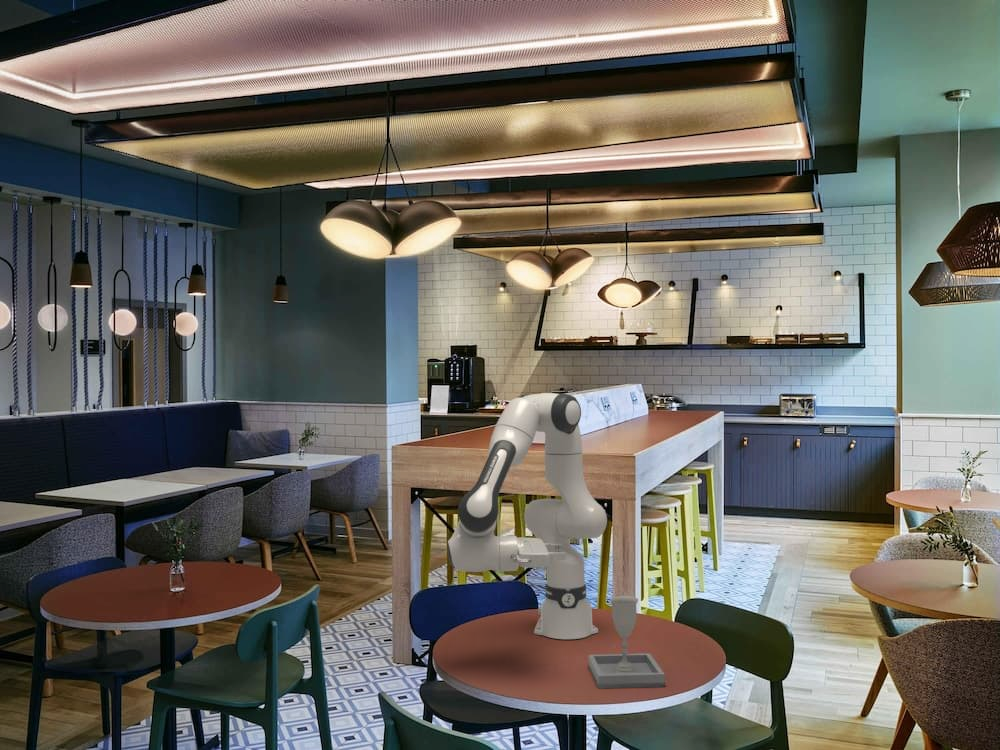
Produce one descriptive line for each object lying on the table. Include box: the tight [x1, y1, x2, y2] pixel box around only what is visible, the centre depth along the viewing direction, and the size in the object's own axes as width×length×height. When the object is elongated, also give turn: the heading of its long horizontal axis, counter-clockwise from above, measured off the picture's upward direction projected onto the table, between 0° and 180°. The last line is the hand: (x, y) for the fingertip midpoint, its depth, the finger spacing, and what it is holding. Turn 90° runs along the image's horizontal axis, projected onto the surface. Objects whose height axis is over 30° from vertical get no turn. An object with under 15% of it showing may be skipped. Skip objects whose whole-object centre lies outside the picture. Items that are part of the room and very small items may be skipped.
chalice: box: [609, 595, 639, 674], centre depth 209 cm, size 7×7×18 cm
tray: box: [587, 652, 666, 689], centre depth 209 cm, size 16×16×3 cm
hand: (563, 551), depth 217 cm, fingers open, 8 cm apart
